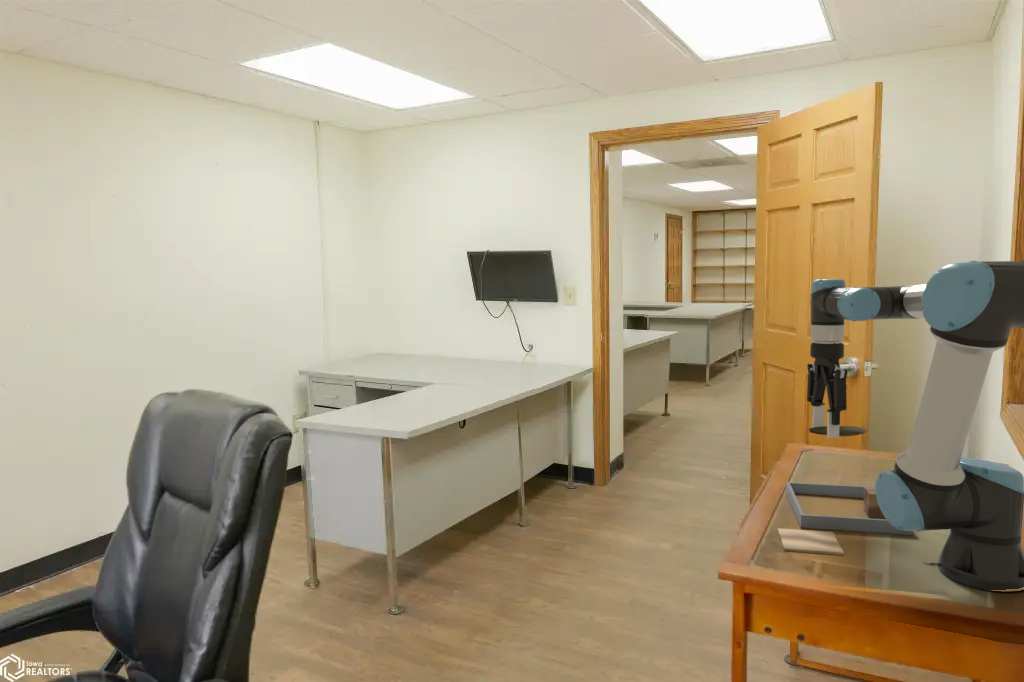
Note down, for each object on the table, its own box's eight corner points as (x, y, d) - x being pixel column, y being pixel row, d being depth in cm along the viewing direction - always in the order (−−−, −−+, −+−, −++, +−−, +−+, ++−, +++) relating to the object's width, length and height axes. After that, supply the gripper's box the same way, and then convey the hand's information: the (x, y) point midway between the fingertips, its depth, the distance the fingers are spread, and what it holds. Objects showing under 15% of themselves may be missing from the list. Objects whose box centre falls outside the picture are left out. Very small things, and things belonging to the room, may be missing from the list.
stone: (863, 434, 170) (863, 425, 170) (869, 438, 165) (869, 429, 165) (807, 432, 173) (807, 424, 173) (811, 437, 168) (811, 428, 168)
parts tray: (913, 535, 156) (913, 522, 156) (800, 527, 162) (800, 515, 162) (882, 498, 181) (882, 487, 181) (786, 492, 187) (786, 481, 187)
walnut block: (890, 518, 167) (891, 494, 166) (868, 517, 168) (868, 493, 168) (885, 511, 172) (885, 488, 171) (863, 510, 173) (864, 487, 172)
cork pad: (844, 555, 146) (844, 552, 146) (784, 550, 149) (784, 548, 149) (832, 534, 158) (832, 532, 158) (777, 530, 161) (777, 528, 161)
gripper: (865, 344, 159) (863, 442, 161) (820, 338, 178) (818, 425, 180) (835, 345, 158) (833, 444, 160) (792, 339, 177) (791, 427, 179)
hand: (825, 434), depth 170 cm, fingers closed on stone, 6 cm apart
